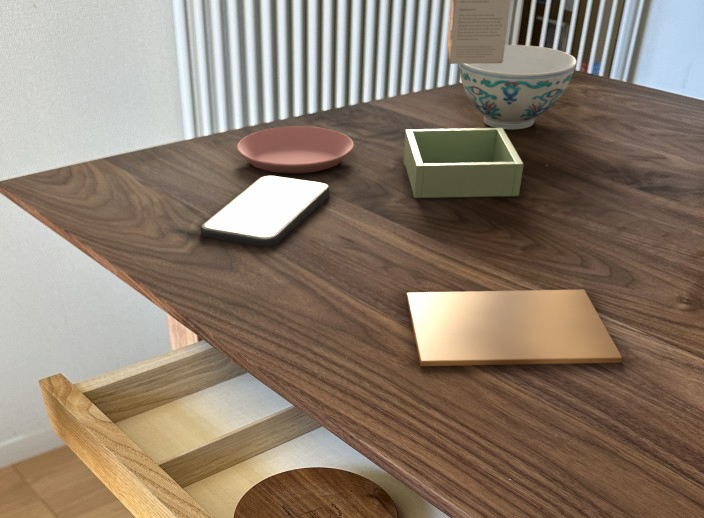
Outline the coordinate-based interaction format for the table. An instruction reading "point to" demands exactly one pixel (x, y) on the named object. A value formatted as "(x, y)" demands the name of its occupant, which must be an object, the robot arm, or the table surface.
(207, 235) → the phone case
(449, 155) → the open bin
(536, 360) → the gold metal mat
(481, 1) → the small box
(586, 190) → the table surface
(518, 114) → the chinaware
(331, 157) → the plate
